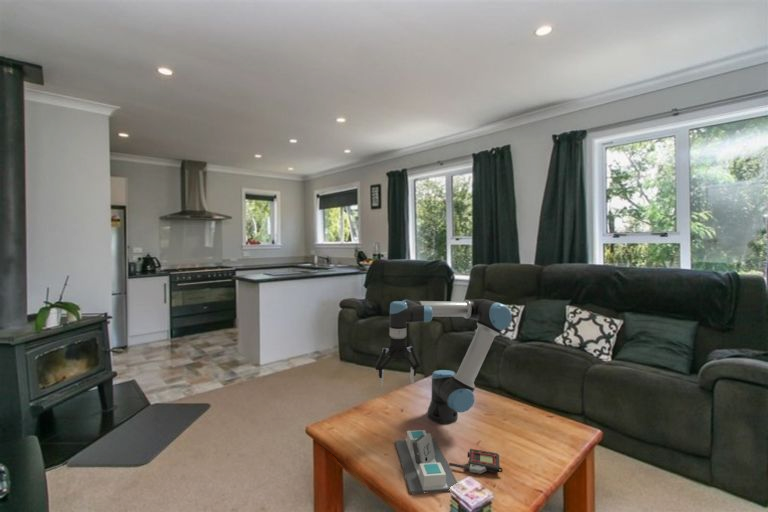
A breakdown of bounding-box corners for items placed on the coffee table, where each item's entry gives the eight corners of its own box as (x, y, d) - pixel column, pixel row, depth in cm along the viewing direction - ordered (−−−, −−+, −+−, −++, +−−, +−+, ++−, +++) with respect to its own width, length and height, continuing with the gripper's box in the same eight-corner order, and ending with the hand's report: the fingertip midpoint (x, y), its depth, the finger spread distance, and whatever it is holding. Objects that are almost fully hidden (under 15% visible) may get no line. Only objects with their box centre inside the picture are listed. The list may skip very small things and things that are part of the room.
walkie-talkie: (503, 474, 131) (448, 464, 137) (502, 482, 133) (448, 471, 138) (502, 453, 139) (450, 444, 144) (501, 460, 141) (450, 451, 146)
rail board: (434, 440, 157) (435, 427, 157) (459, 490, 126) (460, 474, 125) (395, 442, 155) (395, 429, 155) (410, 494, 123) (410, 478, 123)
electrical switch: (423, 468, 135) (422, 444, 135) (412, 464, 138) (410, 440, 138) (435, 457, 142) (434, 434, 143) (424, 453, 146) (423, 430, 146)
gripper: (371, 340, 150) (370, 389, 151) (427, 337, 155) (426, 385, 156) (368, 335, 157) (368, 382, 158) (422, 333, 162) (421, 378, 163)
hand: (397, 383), depth 157 cm, fingers open, 13 cm apart
